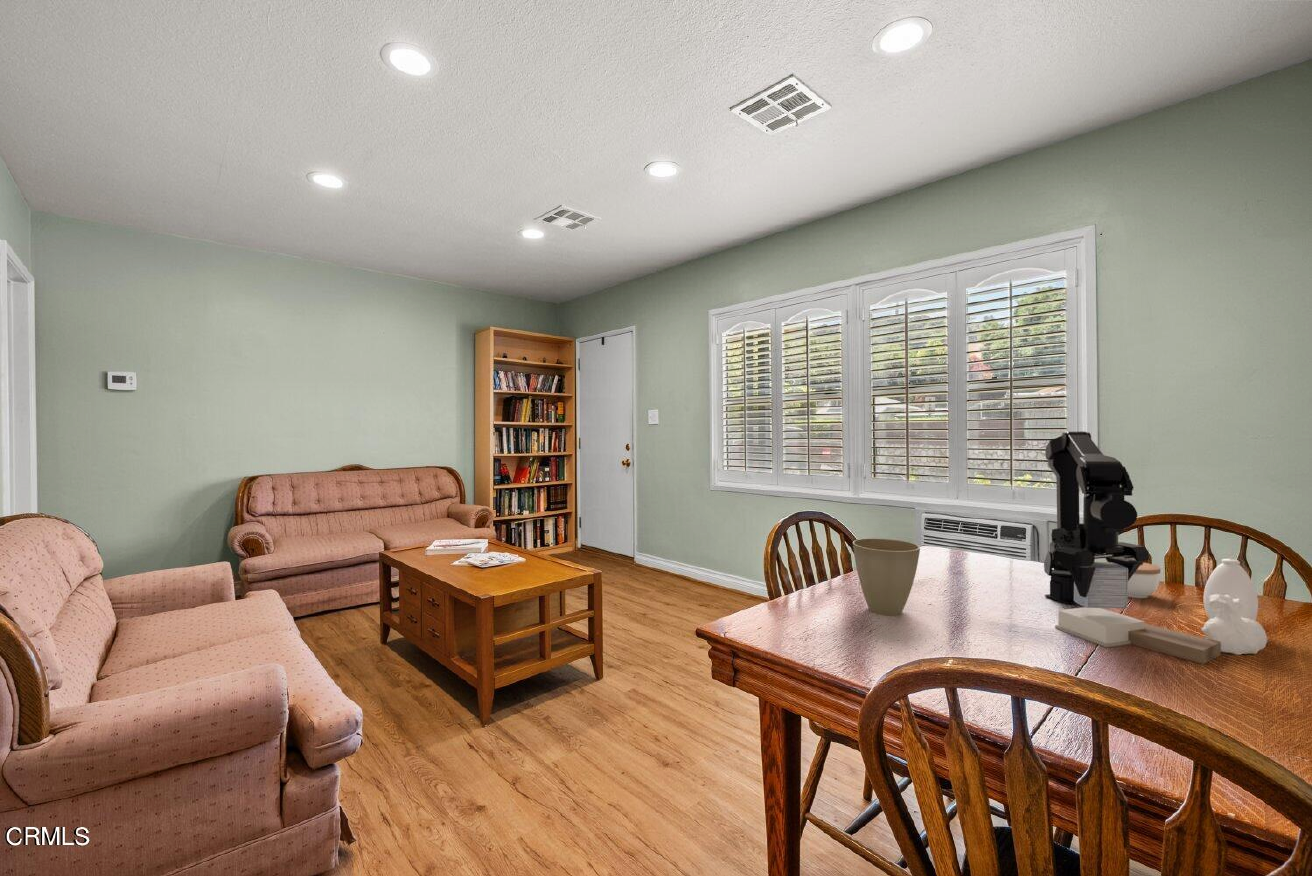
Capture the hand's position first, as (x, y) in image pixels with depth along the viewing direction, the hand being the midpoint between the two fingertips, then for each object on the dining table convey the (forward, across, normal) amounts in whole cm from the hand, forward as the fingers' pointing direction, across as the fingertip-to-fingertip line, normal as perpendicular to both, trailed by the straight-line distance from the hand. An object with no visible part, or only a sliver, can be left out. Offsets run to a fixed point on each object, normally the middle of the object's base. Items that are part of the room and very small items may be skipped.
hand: (1099, 594), depth 116 cm
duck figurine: (+9, -17, +12) cm, 23 cm away
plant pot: (+9, +33, -25) cm, 42 cm away
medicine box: (+2, 0, 0) cm, 2 cm away
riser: (+8, 0, 0) cm, 8 cm away
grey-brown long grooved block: (+8, -6, +9) cm, 14 cm away
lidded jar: (+9, -35, -19) cm, 41 cm away
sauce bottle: (+9, -27, +6) cm, 29 cm away
